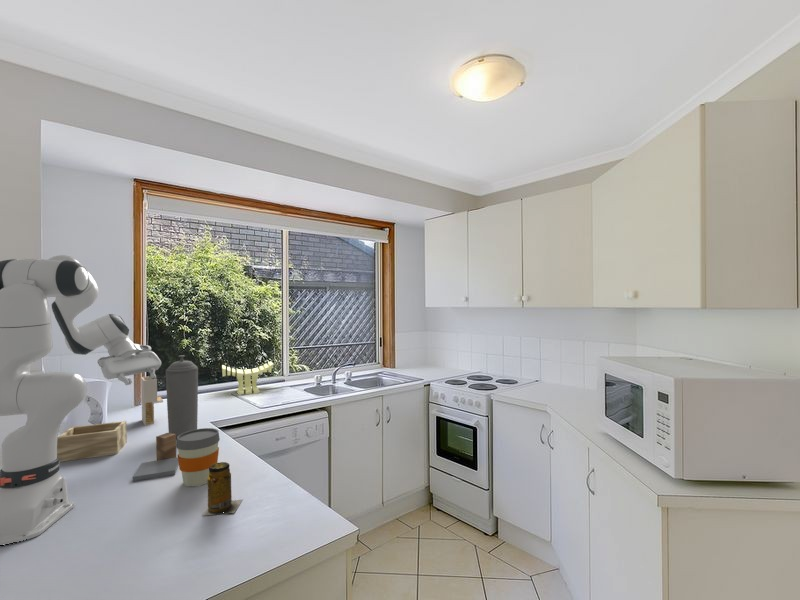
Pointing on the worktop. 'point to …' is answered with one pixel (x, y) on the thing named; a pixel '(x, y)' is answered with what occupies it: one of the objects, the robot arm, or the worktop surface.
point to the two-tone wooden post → (149, 399)
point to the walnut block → (166, 446)
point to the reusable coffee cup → (197, 454)
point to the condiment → (220, 490)
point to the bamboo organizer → (91, 441)
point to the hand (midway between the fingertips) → (141, 381)
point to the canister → (182, 396)
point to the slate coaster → (156, 469)
